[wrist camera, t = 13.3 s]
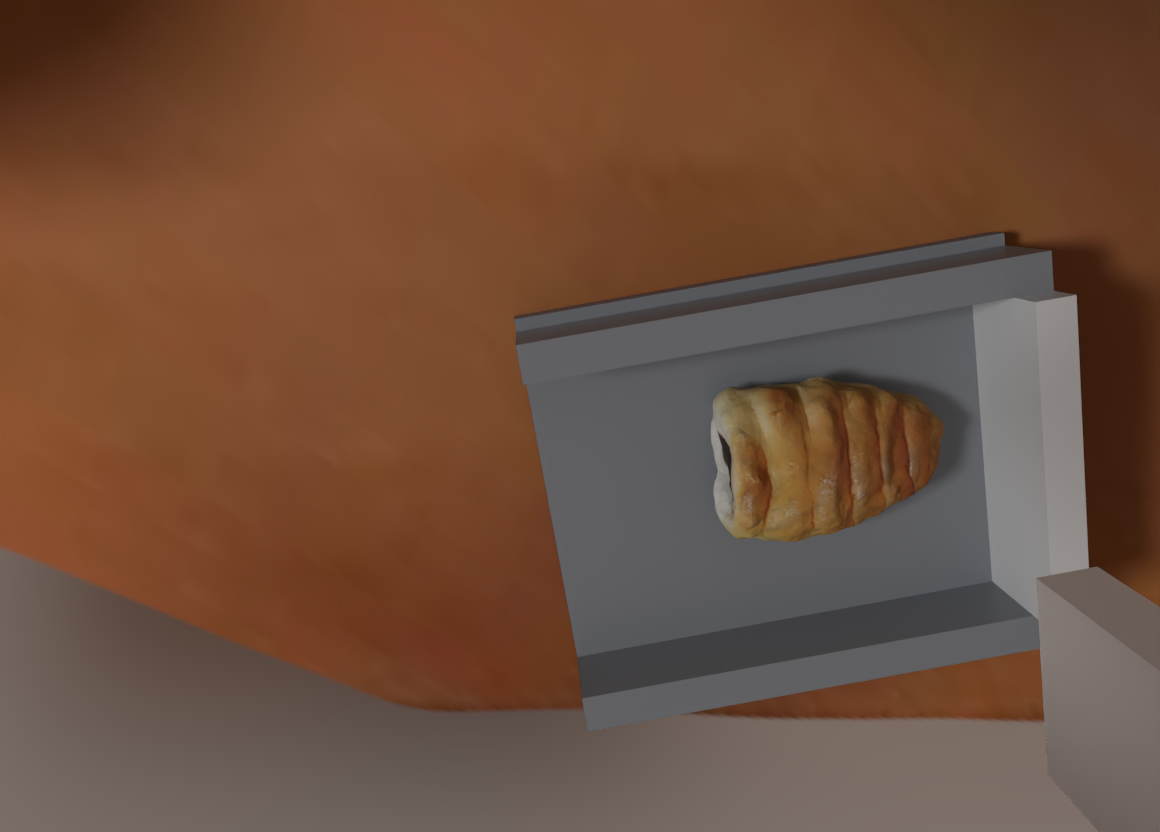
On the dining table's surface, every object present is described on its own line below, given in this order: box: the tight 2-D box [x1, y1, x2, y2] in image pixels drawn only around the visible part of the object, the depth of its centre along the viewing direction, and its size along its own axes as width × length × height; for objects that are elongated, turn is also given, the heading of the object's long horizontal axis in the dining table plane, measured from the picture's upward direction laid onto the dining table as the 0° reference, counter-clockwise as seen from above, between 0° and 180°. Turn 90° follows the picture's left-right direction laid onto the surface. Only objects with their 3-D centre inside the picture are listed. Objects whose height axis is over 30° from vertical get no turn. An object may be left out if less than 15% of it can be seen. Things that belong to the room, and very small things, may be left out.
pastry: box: [711, 377, 944, 542], centre depth 38 cm, size 9×7×4 cm
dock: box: [514, 232, 1089, 731], centre depth 38 cm, size 20×17×6 cm
